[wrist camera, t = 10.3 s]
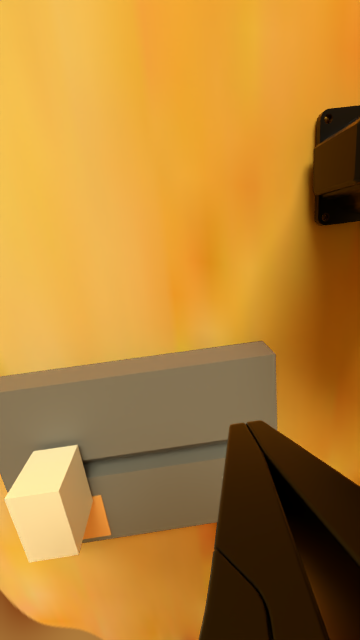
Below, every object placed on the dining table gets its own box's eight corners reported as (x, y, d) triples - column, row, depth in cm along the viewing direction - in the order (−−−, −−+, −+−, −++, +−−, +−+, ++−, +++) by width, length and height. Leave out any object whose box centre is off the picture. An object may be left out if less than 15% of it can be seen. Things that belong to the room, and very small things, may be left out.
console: (262, 340, 21) (276, 354, 18) (267, 486, 25) (279, 513, 22) (-7, 377, 20) (-31, 397, 18) (43, 520, 24) (29, 552, 22)
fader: (83, 429, 20) (58, 491, 15) (97, 482, 22) (78, 554, 17) (43, 435, 20) (4, 499, 15) (59, 487, 22) (29, 562, 17)
